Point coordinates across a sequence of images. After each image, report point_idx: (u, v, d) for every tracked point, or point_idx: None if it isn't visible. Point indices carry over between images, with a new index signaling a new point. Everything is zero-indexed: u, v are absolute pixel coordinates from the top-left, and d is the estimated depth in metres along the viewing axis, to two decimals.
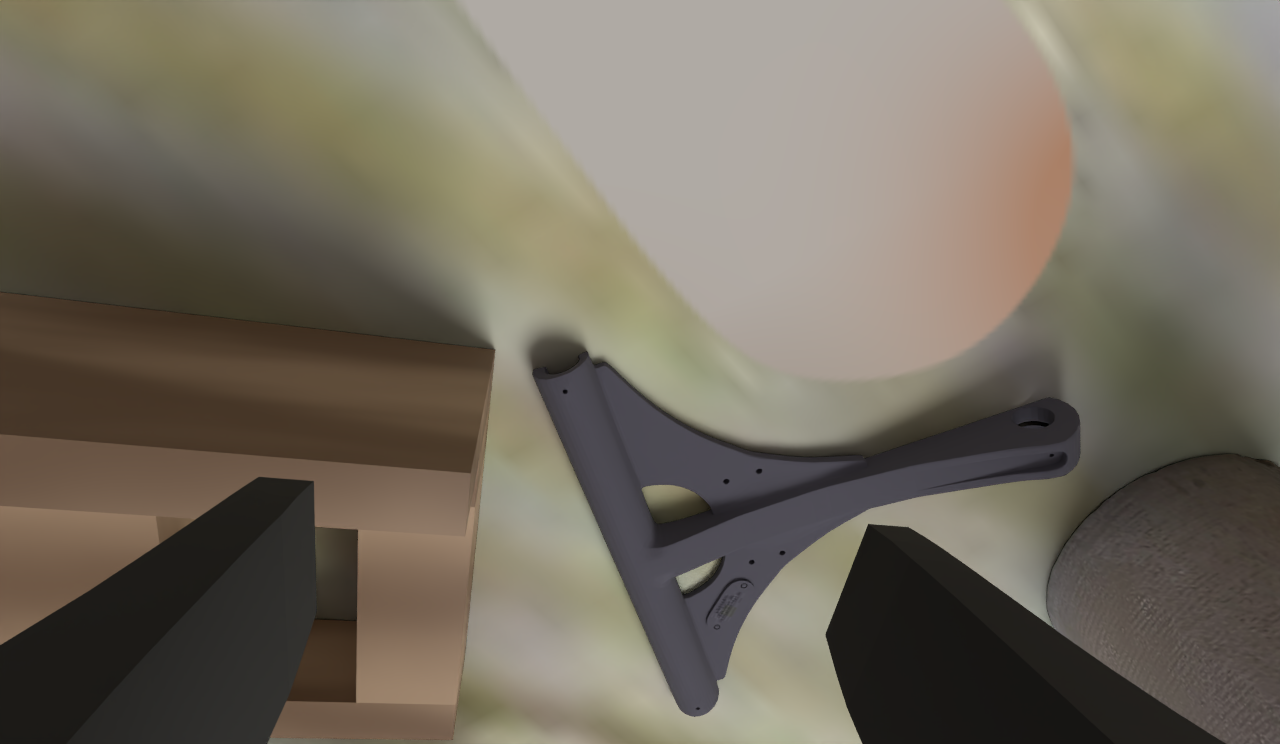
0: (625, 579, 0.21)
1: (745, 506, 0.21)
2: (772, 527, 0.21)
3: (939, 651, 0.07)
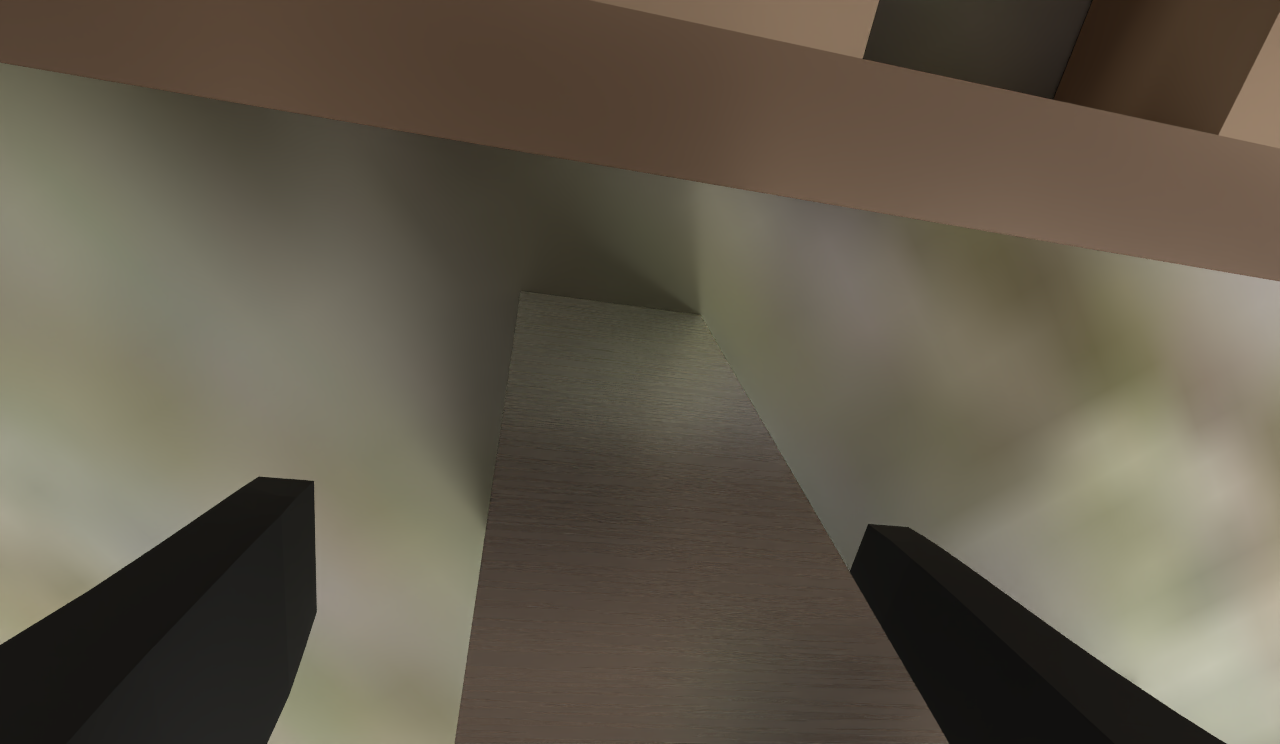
0: None
1: None
2: None
3: (939, 651, 0.07)
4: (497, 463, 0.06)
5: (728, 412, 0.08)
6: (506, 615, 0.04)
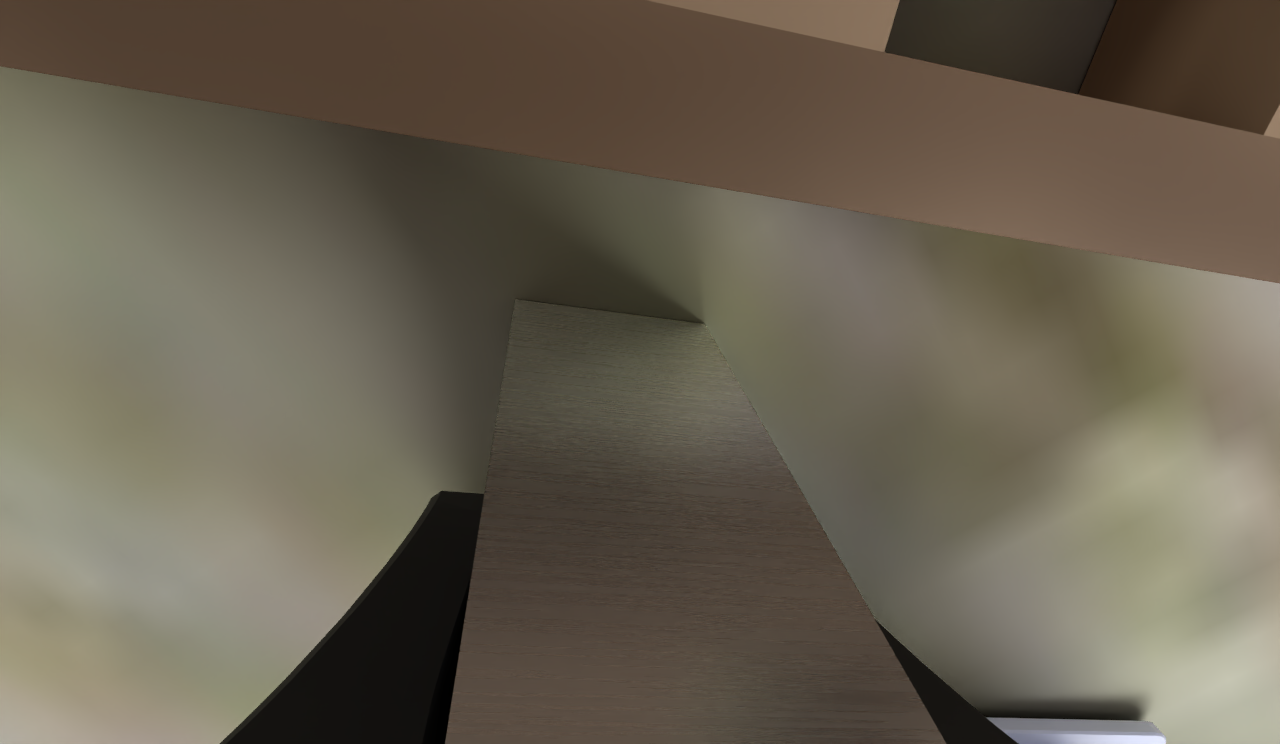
0: None
1: None
2: None
3: None
4: (485, 498, 0.06)
5: (738, 434, 0.07)
6: (492, 689, 0.04)
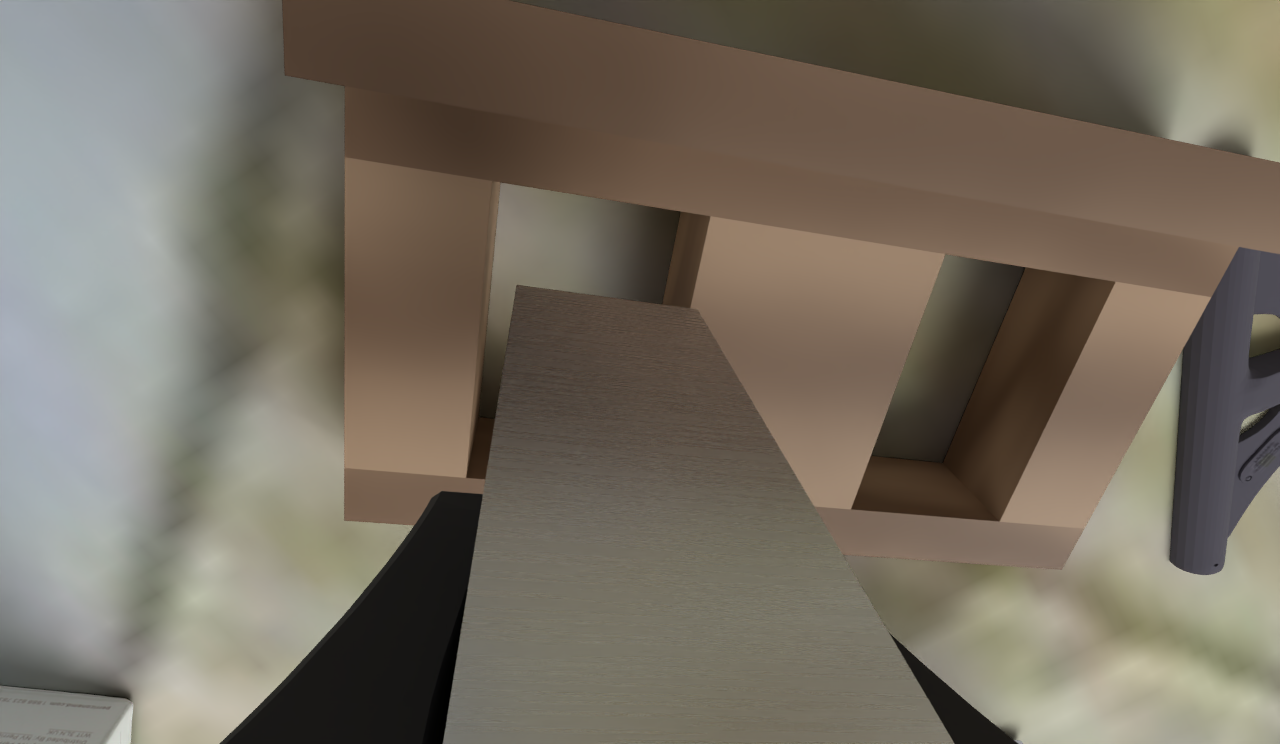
0: (1202, 417, 0.21)
1: None
2: None
3: None
4: (491, 454, 0.06)
5: (725, 404, 0.08)
6: (499, 605, 0.04)
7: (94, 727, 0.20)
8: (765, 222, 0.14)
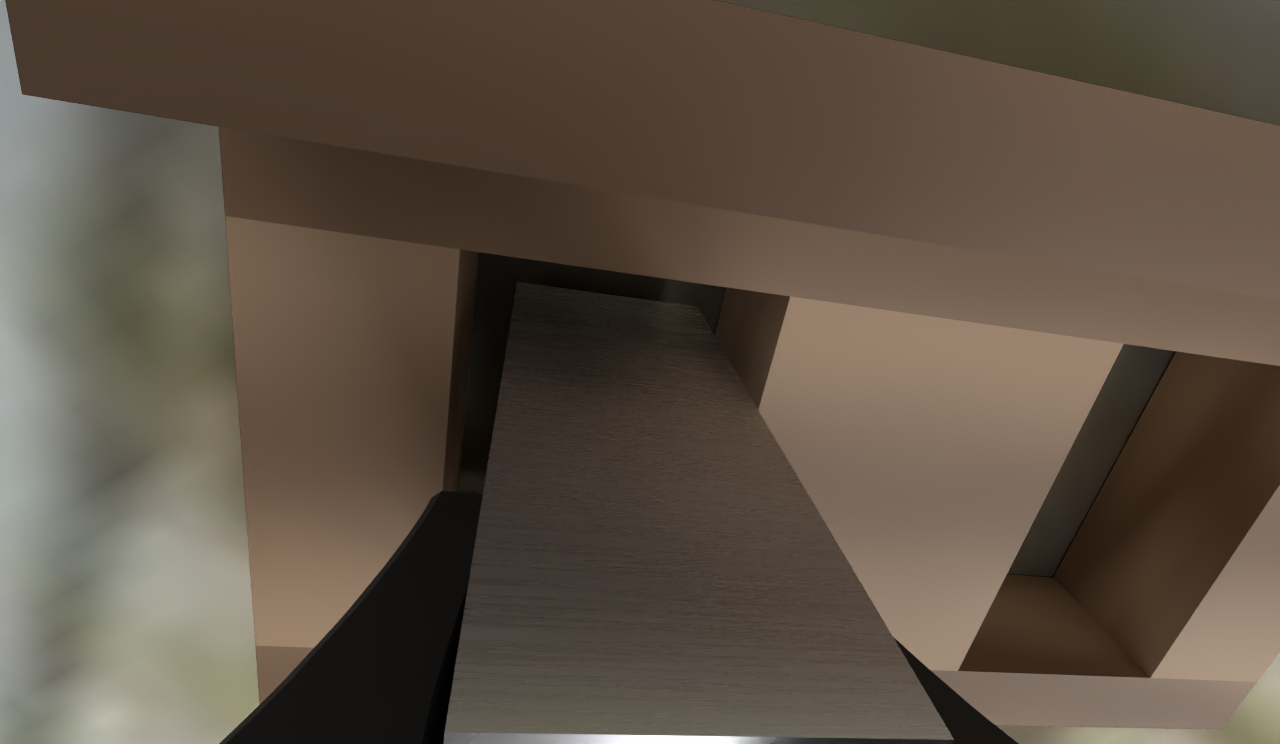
0: None
1: None
2: None
3: None
4: (492, 447, 0.06)
5: (725, 399, 0.08)
6: (501, 592, 0.04)
7: None
8: (870, 303, 0.10)
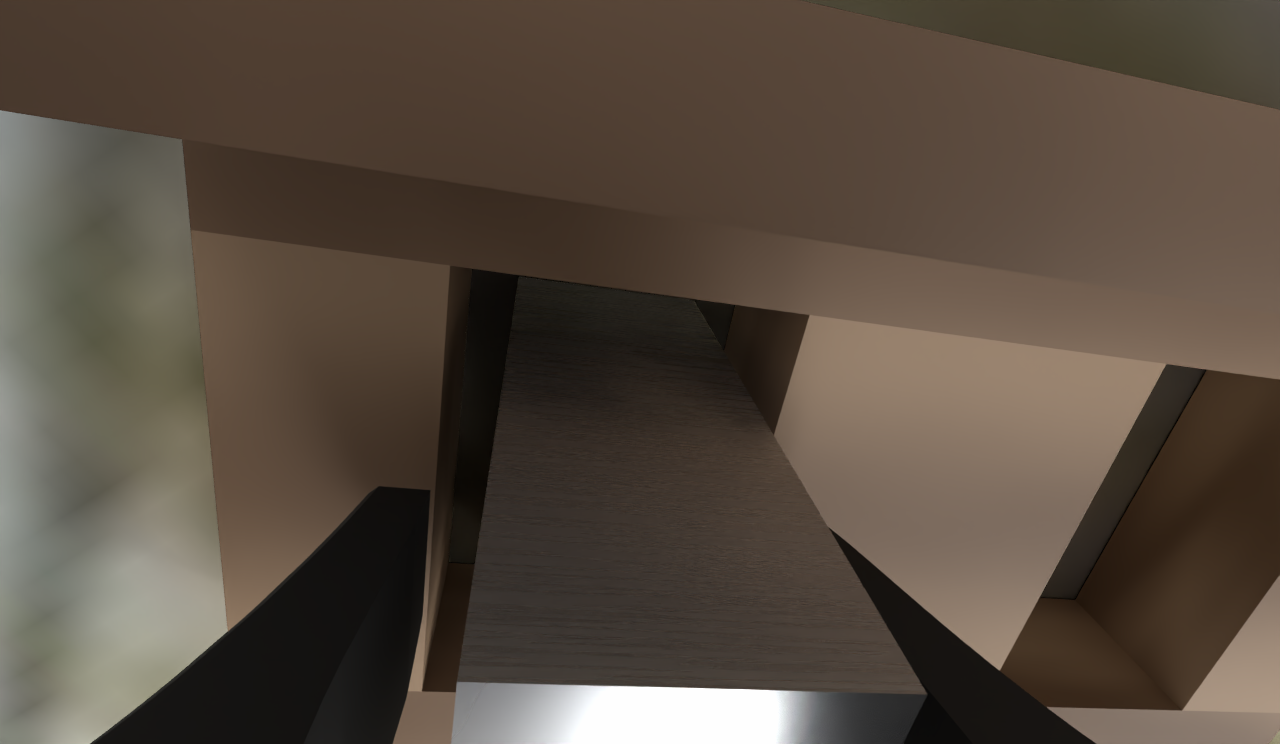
0: None
1: None
2: None
3: None
4: (497, 430, 0.06)
5: (719, 388, 0.08)
6: (506, 562, 0.05)
7: None
8: (895, 322, 0.09)
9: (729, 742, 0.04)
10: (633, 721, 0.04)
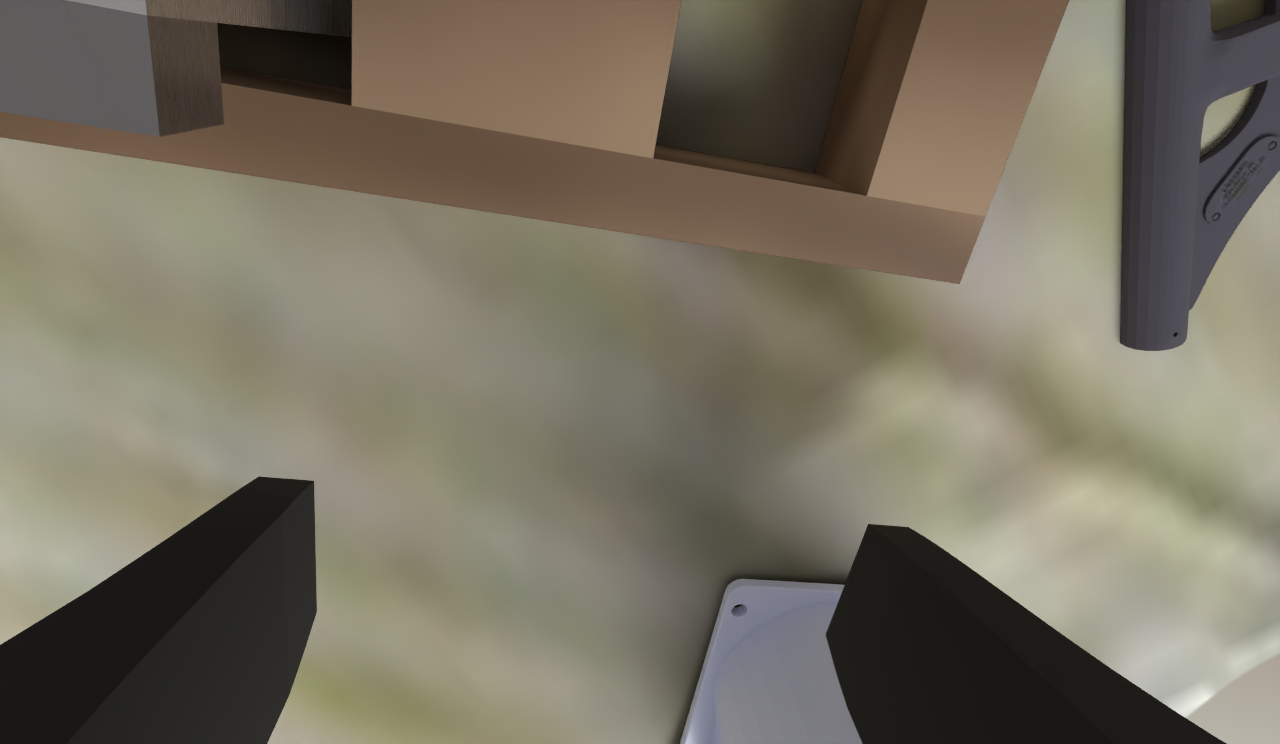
0: (1152, 106, 0.16)
1: None
2: None
3: (939, 651, 0.07)
4: None
5: None
6: None
7: None
8: None
9: None
10: None
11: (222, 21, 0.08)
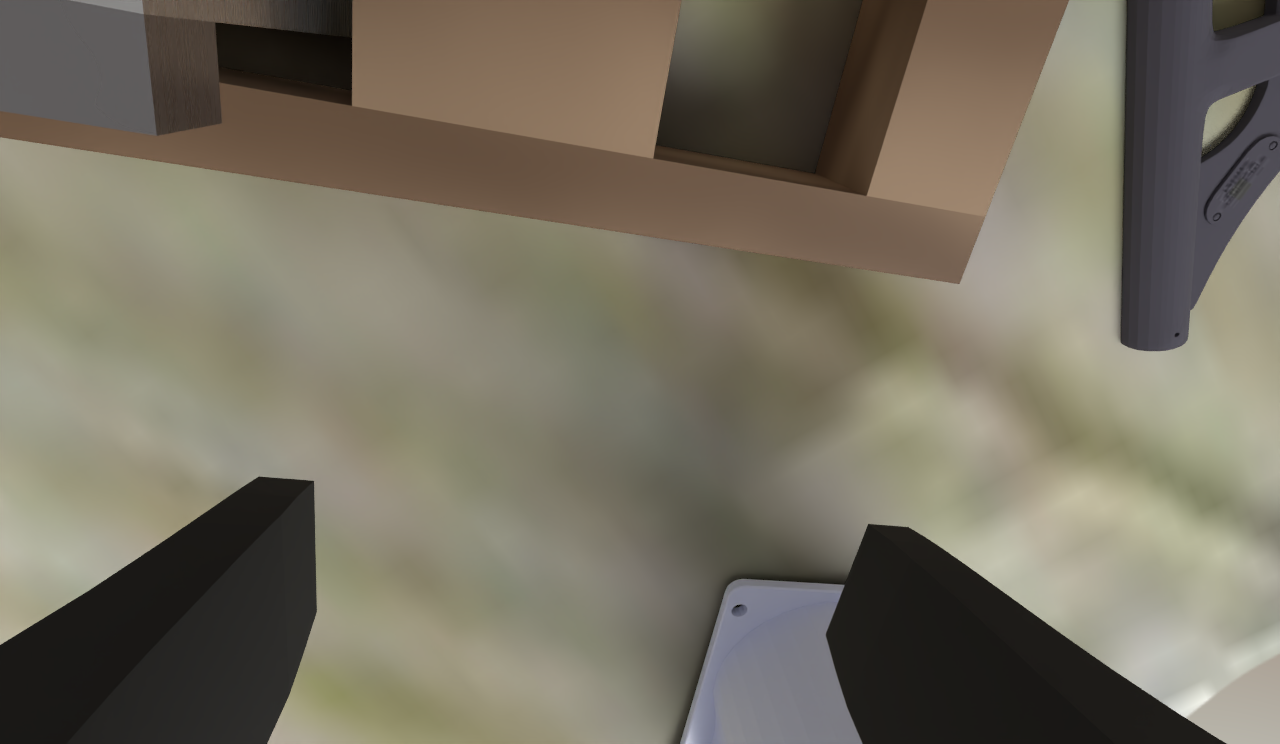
0: (1154, 107, 0.16)
1: None
2: None
3: (939, 651, 0.07)
4: None
5: None
6: None
7: None
8: None
9: None
10: None
11: (220, 20, 0.08)
